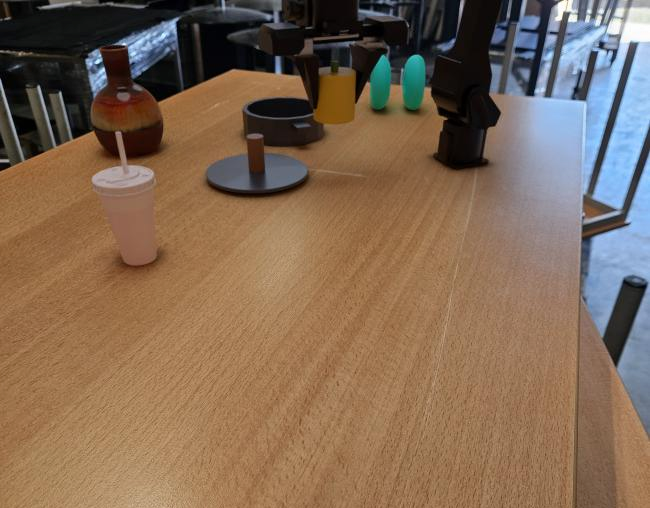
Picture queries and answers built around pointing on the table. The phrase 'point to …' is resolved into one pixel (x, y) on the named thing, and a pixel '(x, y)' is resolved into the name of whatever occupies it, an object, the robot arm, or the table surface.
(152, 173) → the smoothie
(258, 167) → the pan lid
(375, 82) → the teal upright capsules
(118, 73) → the vase
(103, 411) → the table surface
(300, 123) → the pan
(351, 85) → the pepper
